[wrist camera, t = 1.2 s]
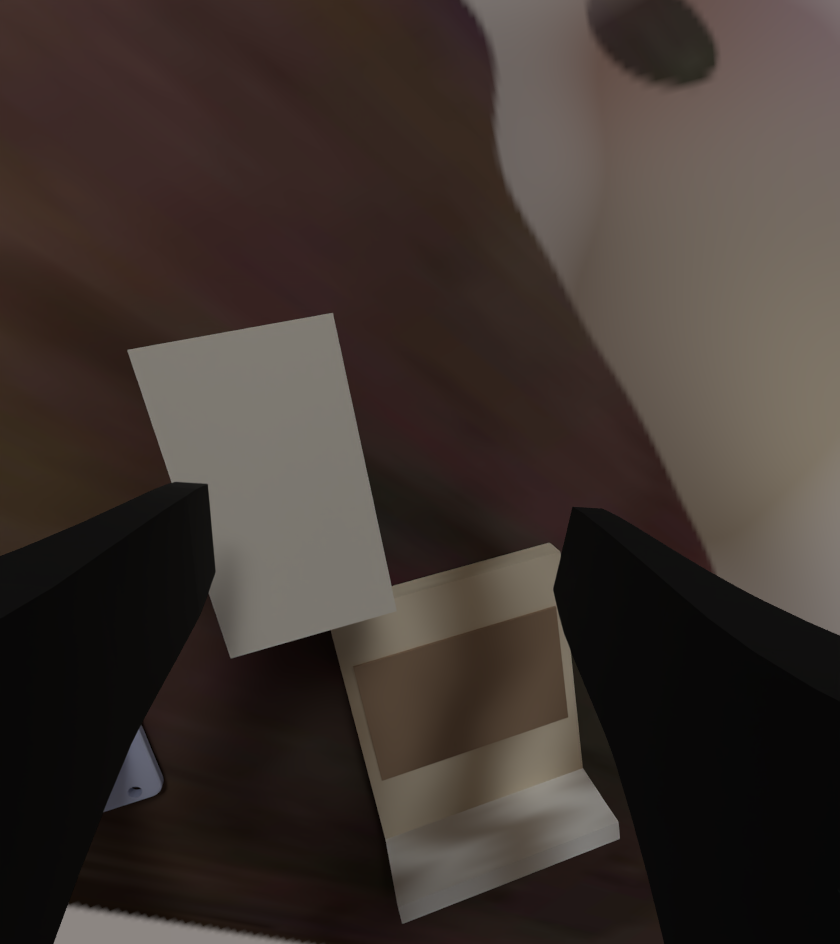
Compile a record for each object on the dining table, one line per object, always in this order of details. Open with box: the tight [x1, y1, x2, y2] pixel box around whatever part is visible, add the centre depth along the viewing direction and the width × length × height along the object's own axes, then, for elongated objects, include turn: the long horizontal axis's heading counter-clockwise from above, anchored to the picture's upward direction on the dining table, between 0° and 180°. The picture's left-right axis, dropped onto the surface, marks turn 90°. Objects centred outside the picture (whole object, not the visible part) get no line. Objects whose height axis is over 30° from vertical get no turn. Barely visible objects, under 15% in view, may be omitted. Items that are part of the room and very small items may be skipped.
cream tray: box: [331, 543, 620, 924], centre depth 22 cm, size 10×13×4 cm
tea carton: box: [127, 313, 397, 658], centre depth 16 cm, size 5×8×7 cm, turn 11°
